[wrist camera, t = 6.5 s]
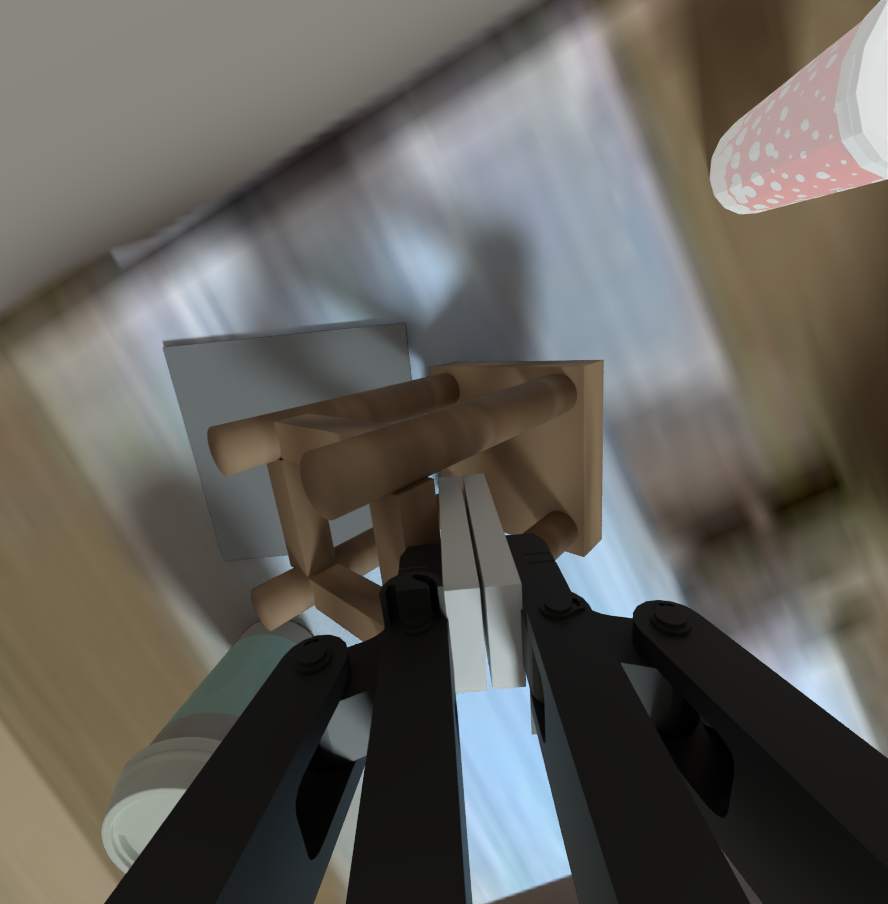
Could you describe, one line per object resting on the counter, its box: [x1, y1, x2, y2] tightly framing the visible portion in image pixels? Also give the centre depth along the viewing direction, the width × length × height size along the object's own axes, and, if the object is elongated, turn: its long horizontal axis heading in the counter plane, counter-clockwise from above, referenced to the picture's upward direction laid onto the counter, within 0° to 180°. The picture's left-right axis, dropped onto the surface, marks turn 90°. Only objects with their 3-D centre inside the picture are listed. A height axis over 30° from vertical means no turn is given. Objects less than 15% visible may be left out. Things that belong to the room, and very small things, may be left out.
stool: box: [207, 360, 604, 642], centre depth 18 cm, size 9×9×14 cm
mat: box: [162, 323, 415, 561], centre depth 26 cm, size 14×14×1 cm
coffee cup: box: [102, 621, 313, 874], centre depth 25 cm, size 8×8×12 cm
